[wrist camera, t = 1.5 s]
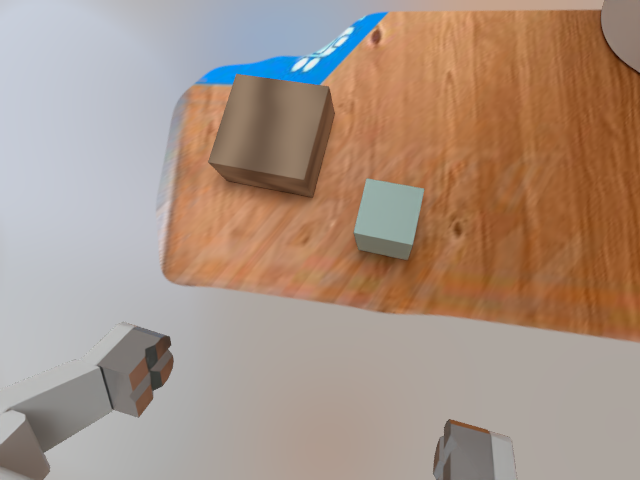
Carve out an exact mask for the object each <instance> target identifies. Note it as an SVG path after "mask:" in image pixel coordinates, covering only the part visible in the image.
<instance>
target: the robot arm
mask: <svg viewBox="0 0 640 480" xmlns="http://www.w3.org/2000/svg"><path fill="white" fill-rule="evenodd" d="M601 25H602V30H603V33H604V36H605V38H606V40H607V42H608V44H609V46H610V47H611V48H612V50H613V51H614V52H615V53H616V55H617V56H618V57H619V58H620V59H622V60H623V61H624V62H625V63H626V64H628V65H629V66H631V67H632V68H634V69H635V70H637V71H638V72H639V73H640V0H605V1H604V3H603V7H602V11H601ZM170 346H171V341H170V337H169V336H166V335H163V334H160V333H157V332H154V331H150V330H147V329H144V328H141V327H138V326H135V325H132V324H129V323H125V322H122V323H119V324H117V325H116V326H115V327H114V328H113V329H112V330H111V331H110V332H109V333H108V334H107V335H106V336H105V337H104V338H103V339H101V340H100V341H99V342H98V343H97V344H96V345H95V346H94V347H93V348H92V349H91V350H90V351H89V352H88V353H87V354H86V355H85V356H84V357H83V358H82V359H81V360H76V359H75V360H72V361H69V362H67V363H65V364H62V365H59V366H57V367H54V368H52V369H49V370H47V371H44V372H42V373H39V374H37V375H34V376H32V377H29V378H27V379H24V380H22V381H20V382H17V383H14V384H12V385H9V386H7V387H4V388H2V389H0V480H43V479H44V478H45V477H46V476H47V474H48V473H49V472H50V465H49V463H48V461H47V459H46V457H45V455H44V452H46V451H48V450H49V449H51V448H53V447H54V446H56V445H57V444H59V443H61V442H62V441H64V440H66V439H67V438H69V437H71V436H72V435H74V434H76V433H77V432H79V431H81V430H82V429H84V428H86V427H87V426H89V425H91V424H92V423H94V422H95V421H97V420H99V419H100V418H102V417H104V416H105V415H107V414H109V413H110V412H112V409H113V410H116V411H119V412H123V413H126V414H129V415H132V416H135V417H140V415H141V414H142V413H143V411H144V410H145V409H146V407H147V406H148V405H149V403H150V402H151V401H152V400H153V391H154V390H156V389H158V388H160V387H162V386H163V385H164V383H165V382H166V381H167V379H168V378H169V375H170V373H171V371H172V368H173V362H174V361H173V355H172V354H171V352H170V351H169V350H168V348H169V347H170ZM433 474H434V476H435V478H436V480H517V475H516V467H515V460H514V452H513V446H512V441H511V439H510V437H508V436H505V435H501V434H498V433H495V432H491V431H488V430H486V429H482V428H479V427H476V426H472V425H468V424H465V423H461V422H458V421H454V420H450V419H449V420H448V421H447V422H446V424H445V427H444V436H442V437H440V439H439V441H438V444H437V447H436V452H435V457H434V468H433Z"/></svg>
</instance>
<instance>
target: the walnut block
mask: <svg viewBox="0 0 640 480" xmlns="http://www.w3.org/2000/svg"><path fill="white" fill-rule="evenodd" d="M334 114H335V112H334V107H333V103H332V98H331V93H330V89H329V87H328V86H321V85H314V84H306V83H299V82H292V81H284V80H277V79H270V78H262V77H255V76H247V75H240V74H236V77H235V80H234V83H233V86H232V89H231V92H230V95H229V99H228V102H227V105H226V108H225V111H224V114H223V117H222V120H221V124H220V127H219V130H218V133H217V136H216V139H215V142H214V145H213V149H212V152H211V155H210V158H209V161H208V162H209V163H210V164H211V165H212V166H213V167H214V168H215V169H216V170H217V171H218V172H219V173H220V174H221V175H222V176H223V177H224V178H225V179H226V180H227V181H231V182H236V183H241V184H247V185H252V186H257V187H262V188H267V189H273V190H278V191H283V192H288V193H293V194H298V195H304V196H309V197H313V194H314V190H315V186H316V183H317V179H318V175H319V171H320V167H321V164H322V160H323V156H324V152H325V148H326V145H327V141H328V137H329V133H330V129H331V126H332V122H333V118H334Z"/></svg>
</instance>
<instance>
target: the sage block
mask: <svg viewBox="0 0 640 480" xmlns="http://www.w3.org/2000/svg"><path fill="white" fill-rule="evenodd" d="M423 193H424V189H423V188H417V187H412V186H406V185H401V184H395V183H389V182H384V181H378V180H373V179H366V183H365V187H364V192H363V196H362V200H361V204H360V208H359V212H358V217H357V221H356V225H355V229H354V236H355V239H356V243H357V247H358V250H362V251H367V252H372V253H376V254H381V255H386V256H390V257H395V258H400V259H404V260H408V258H409V255H410V252H411V249H412V246H413V241H414V236H415V232H416V227H417V222H418V217H419V212H420V208H421V203H422V198H423Z"/></svg>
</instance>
